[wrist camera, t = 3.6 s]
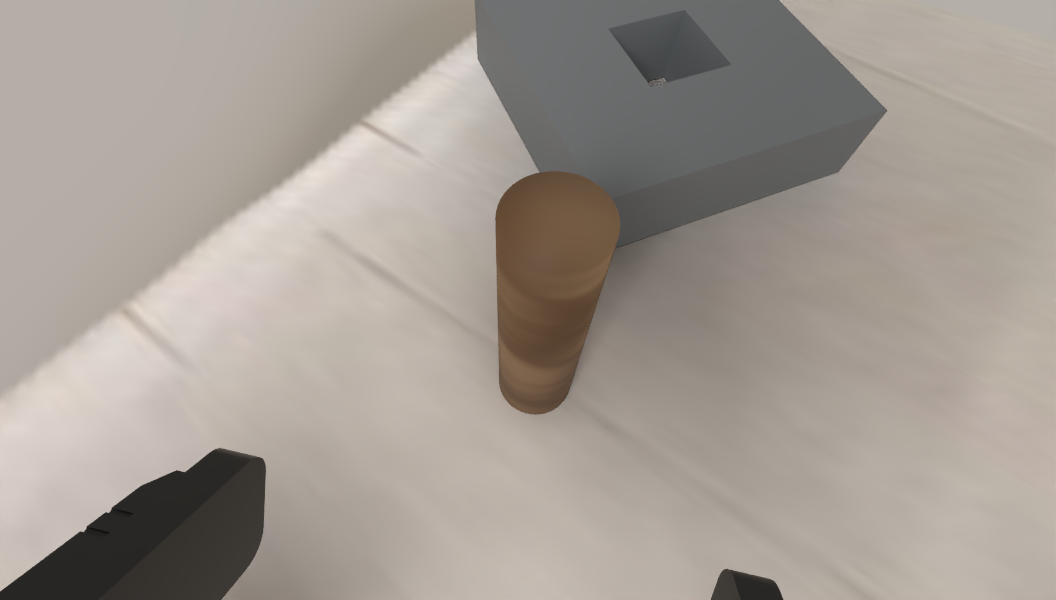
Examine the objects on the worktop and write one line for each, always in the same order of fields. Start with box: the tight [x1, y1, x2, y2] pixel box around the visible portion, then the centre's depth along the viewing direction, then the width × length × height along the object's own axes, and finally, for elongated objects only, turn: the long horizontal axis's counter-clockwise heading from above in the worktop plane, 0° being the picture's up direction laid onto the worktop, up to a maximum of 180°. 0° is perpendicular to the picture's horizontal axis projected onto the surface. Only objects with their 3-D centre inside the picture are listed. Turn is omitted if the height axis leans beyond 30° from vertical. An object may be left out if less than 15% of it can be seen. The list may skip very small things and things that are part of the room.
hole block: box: [475, 0, 887, 248], centre depth 31 cm, size 16×16×4 cm
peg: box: [496, 171, 620, 414], centre depth 19 cm, size 3×3×12 cm
